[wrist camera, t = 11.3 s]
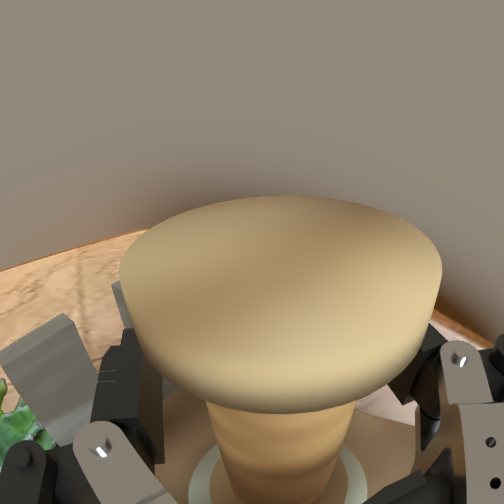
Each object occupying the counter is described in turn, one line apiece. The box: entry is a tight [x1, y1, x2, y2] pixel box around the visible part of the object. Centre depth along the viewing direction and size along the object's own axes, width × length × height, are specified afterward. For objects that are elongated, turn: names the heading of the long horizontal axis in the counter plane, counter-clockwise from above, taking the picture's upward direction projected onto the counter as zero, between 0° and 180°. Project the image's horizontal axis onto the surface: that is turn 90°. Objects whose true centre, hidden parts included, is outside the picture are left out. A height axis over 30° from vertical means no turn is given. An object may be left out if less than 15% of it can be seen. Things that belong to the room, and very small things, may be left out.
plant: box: [0, 378, 59, 472], centre depth 16 cm, size 15×16×6 cm
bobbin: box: [119, 196, 442, 504], centre depth 9 cm, size 6×6×12 cm
